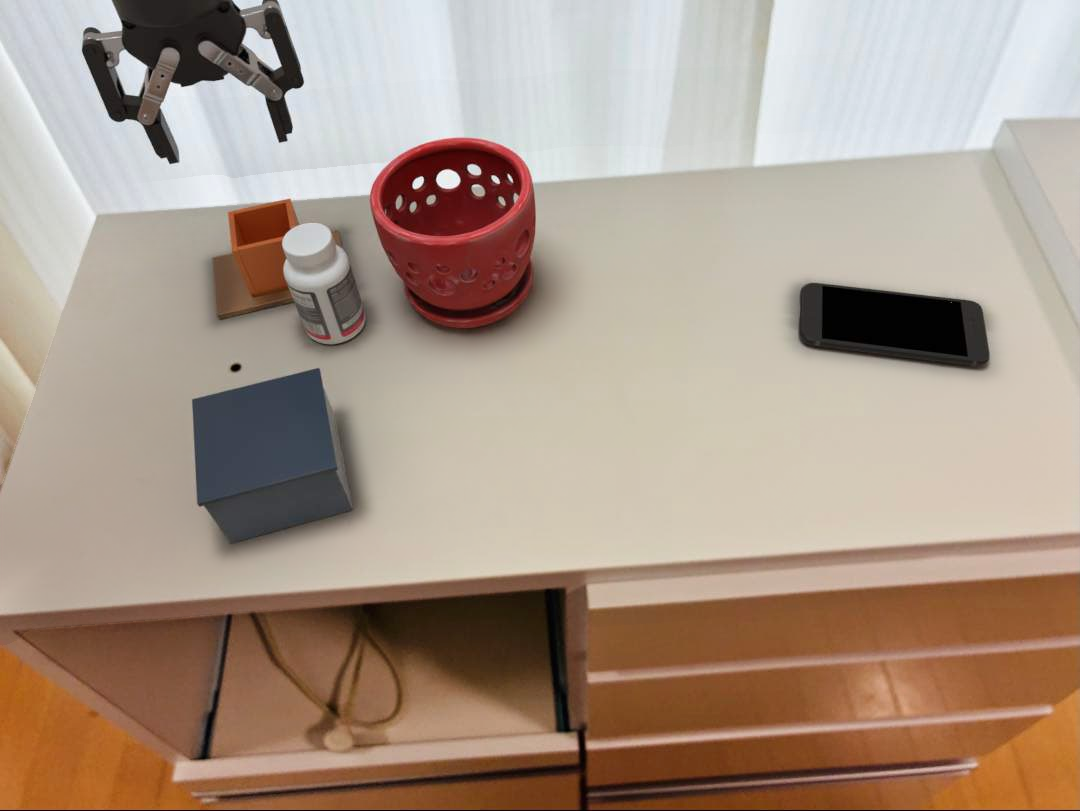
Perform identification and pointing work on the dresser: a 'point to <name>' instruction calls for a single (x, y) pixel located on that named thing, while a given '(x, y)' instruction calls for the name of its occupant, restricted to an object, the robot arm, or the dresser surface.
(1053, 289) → the dresser surface
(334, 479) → the blue tin
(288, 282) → the pill bottle
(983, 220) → the dresser surface
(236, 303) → the cork mat
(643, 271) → the dresser surface
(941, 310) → the smartphone
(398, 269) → the flower pot
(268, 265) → the orange tub
